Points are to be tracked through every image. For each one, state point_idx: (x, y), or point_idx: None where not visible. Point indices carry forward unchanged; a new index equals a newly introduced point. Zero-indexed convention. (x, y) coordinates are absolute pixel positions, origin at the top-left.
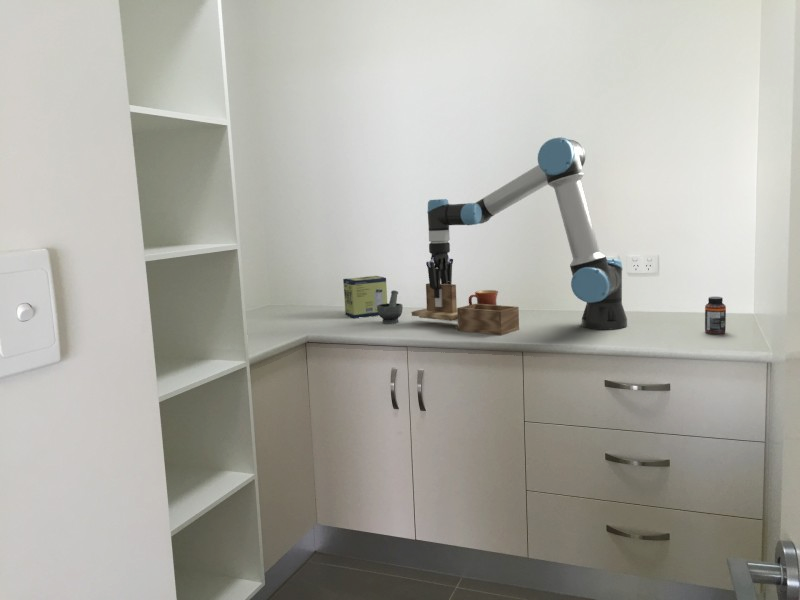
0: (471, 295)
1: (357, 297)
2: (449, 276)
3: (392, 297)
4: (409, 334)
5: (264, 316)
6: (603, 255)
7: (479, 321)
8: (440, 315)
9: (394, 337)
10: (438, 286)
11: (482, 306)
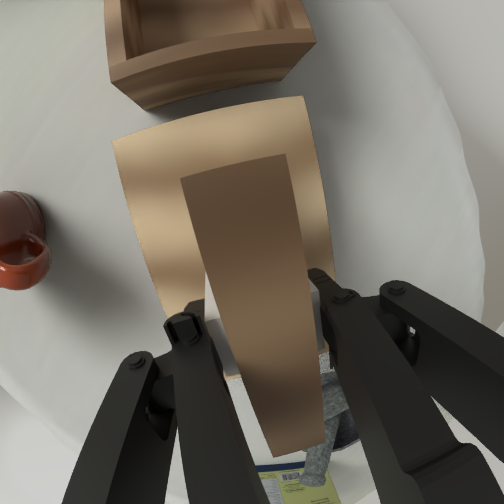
0: (13, 279)
1: (327, 496)
2: (130, 431)
3: (328, 460)
4: (425, 182)
5: (369, 489)
6: None
7: None
8: (318, 177)
9: (460, 186)
10: (359, 300)
11: (125, 28)
